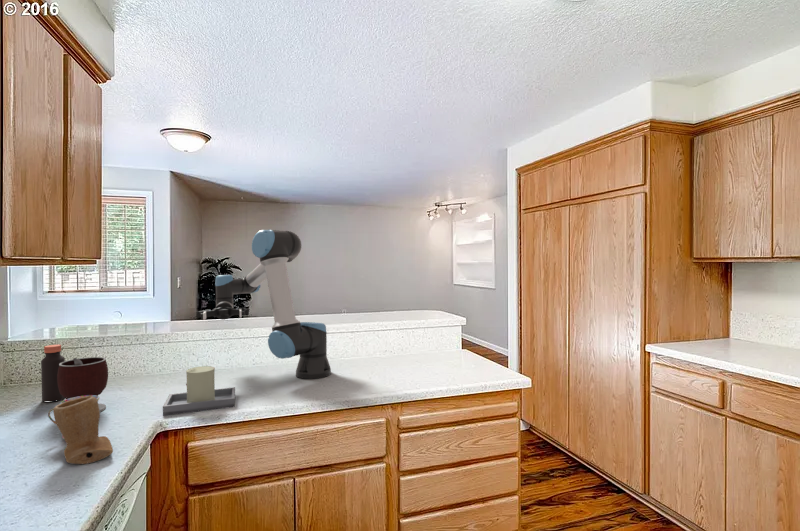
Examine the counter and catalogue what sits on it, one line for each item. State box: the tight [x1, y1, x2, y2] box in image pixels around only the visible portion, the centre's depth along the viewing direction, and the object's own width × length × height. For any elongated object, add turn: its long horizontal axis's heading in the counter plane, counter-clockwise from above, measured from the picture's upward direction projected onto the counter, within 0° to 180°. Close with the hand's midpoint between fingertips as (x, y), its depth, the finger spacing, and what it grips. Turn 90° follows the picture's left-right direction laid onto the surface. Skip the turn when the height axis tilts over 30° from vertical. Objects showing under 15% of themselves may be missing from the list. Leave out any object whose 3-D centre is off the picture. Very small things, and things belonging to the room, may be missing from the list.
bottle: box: [40, 344, 66, 402], centre depth 158 cm, size 7×7×20 cm
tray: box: [162, 386, 236, 416], centre depth 151 cm, size 22×14×3 cm, turn 110°
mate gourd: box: [57, 356, 109, 413], centre depth 145 cm, size 16×14×20 cm
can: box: [185, 365, 216, 403], centre depth 151 cm, size 9×9×12 cm
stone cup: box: [52, 396, 114, 465], centre depth 112 cm, size 15×12×15 cm
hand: (222, 315), depth 173 cm, fingers open, 13 cm apart
